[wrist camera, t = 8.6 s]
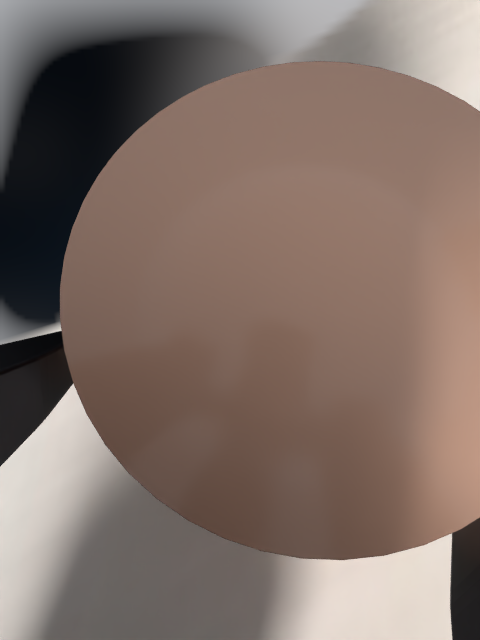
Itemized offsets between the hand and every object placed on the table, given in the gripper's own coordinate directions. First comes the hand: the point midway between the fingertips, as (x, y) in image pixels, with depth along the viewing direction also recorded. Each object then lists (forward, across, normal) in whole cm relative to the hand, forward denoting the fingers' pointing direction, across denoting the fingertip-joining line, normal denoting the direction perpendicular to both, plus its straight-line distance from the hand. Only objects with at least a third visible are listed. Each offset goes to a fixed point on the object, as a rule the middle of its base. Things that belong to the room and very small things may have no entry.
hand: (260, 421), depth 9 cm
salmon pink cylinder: (+7, 0, +4) cm, 8 cm away
